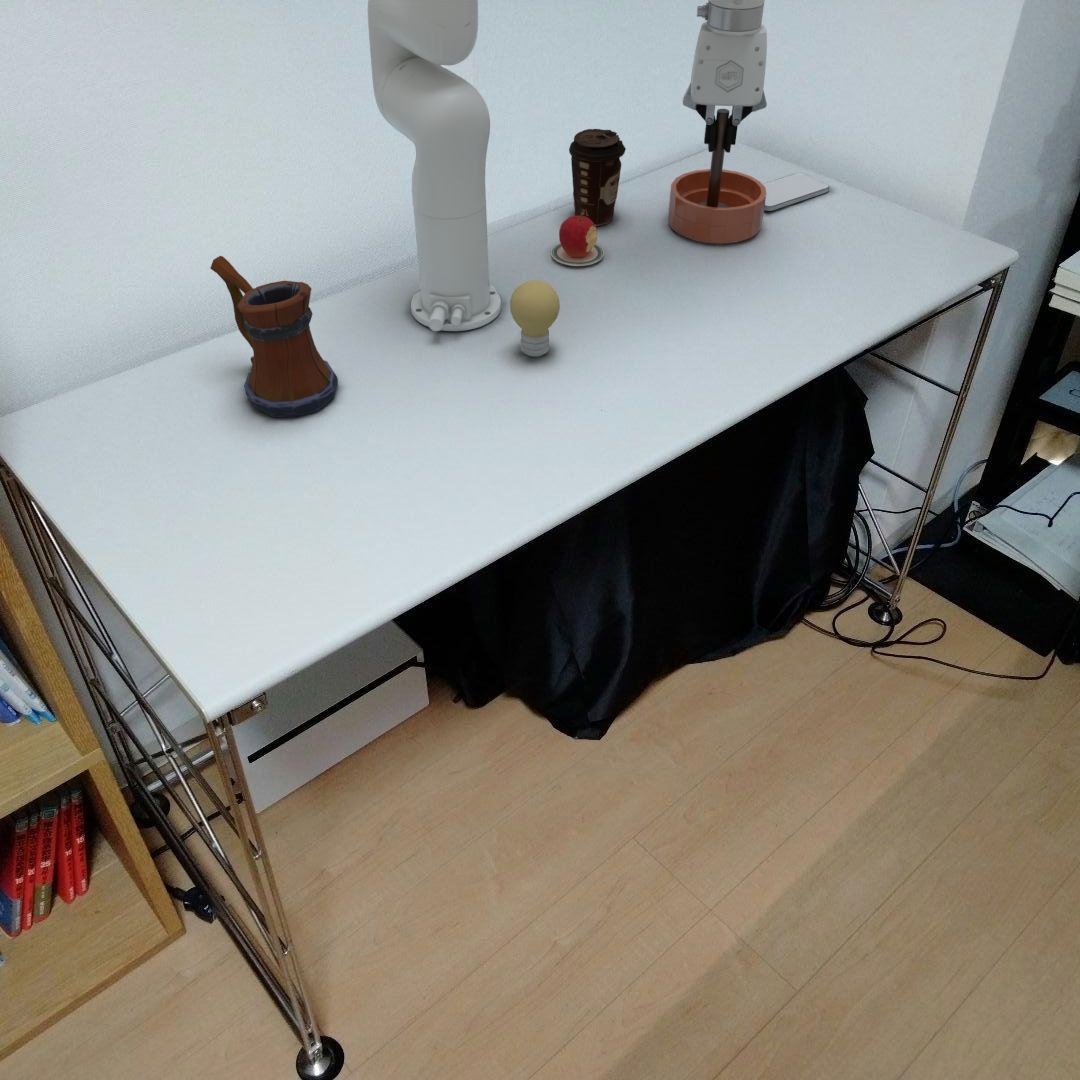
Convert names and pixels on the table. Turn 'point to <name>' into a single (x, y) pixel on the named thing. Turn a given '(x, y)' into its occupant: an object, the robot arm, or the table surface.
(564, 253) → the red apple in dish
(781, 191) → the smartphone
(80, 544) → the table surface
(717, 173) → the dowel on round base
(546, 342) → the light bulb
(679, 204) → the bowl
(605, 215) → the coffee cup
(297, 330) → the mug
